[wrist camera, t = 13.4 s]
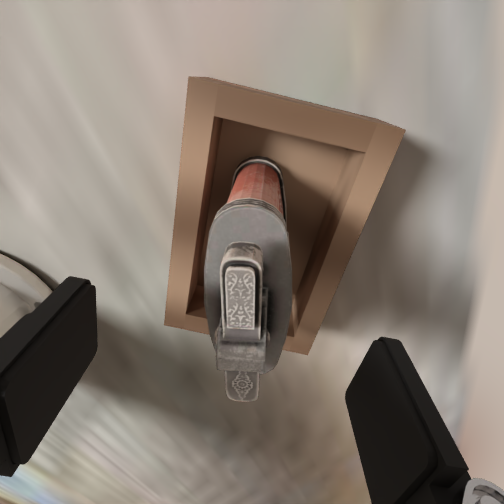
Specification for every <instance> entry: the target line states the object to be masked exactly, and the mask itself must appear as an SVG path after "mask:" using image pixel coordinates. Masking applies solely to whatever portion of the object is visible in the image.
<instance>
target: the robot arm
mask: <svg viewBox="0 0 504 504" xmlns="http://www.w3.org/2000/svg"><path fill="white" fill-rule="evenodd" d="M96 351H97V314H96V288H95V286H94V285H91V282H90V280H87V279H82V278H77V277H72V276H70V277H68V278H66V279H65V280H64V281H63V282H62V283H61V284H60V285H59V286H58V287H57V288H56V289H55V290H54V291H53V292H52V290H51V289H50V288H49V287H48V286H47V285H46V284H45V283H44V282H43V281H42V280H41V279H40V278H39V277H37V276H36V275H35V274H34V273H32V272H31V271H29V270H28V269H27V268H25V267H24V266H23V265H21V264H19V263H17V262H16V261H14V260H12V259H10V258H8V257H6V256H5V255H2V254H0V475H1V476H8V477H12V476H13V474H14V472H15V471H16V469H17V468H18V466H19V465H20V464H25V463H27V462H28V461H29V459H30V458H31V456H32V455H33V453H34V452H35V450H36V449H37V447H38V445H39V444H40V442H41V441H42V439H43V437H44V436H45V434H46V433H47V431H48V429H49V428H50V426H51V425H52V423H53V421H54V420H55V418H56V417H57V415H58V413H59V412H60V410H61V409H62V407H63V405H64V404H65V402H66V401H67V399H68V397H69V396H70V394H71V393H72V391H73V389H74V388H75V386H76V385H77V383H78V382H79V380H80V378H81V377H82V375H83V374H84V372H85V370H86V369H87V367H88V366H89V364H90V362H91V361H92V359H93V358H94V356H95V353H96ZM345 400H346V405H347V409H348V413H349V416H350V420H351V424H352V428H353V432H354V436H355V440H356V444H357V448H358V451H359V455H360V459H361V463H362V467H363V471H364V475H365V479H366V483H367V486H368V490H369V494H370V498H371V502H372V504H504V491H503V490H502V489H501V488H499V487H498V486H496V485H495V484H493V483H492V482H489V481H487V480H484V479H480V478H473V479H471V477H470V475H469V474H468V472H467V470H469V468H468V467H467V465H466V463H465V461H464V459H463V457H462V455H461V453H460V451H459V450H458V448H457V446H456V444H455V442H454V440H453V438H452V436H451V435H450V433H449V431H448V429H447V427H446V425H445V423H444V421H443V420H442V418H441V416H440V414H439V412H438V410H437V408H436V406H435V405H434V403H433V401H432V399H431V397H430V395H429V393H428V391H427V390H426V388H425V386H424V384H423V382H422V380H421V378H420V376H419V374H418V373H417V371H416V369H415V367H414V365H413V363H412V361H411V359H410V358H409V356H408V354H407V352H406V350H405V348H404V346H403V344H402V343H401V341H399V340H397V339H392V338H386V337H380V338H379V339H378V340H375V341H373V343H372V345H371V346H370V348H369V350H368V352H367V354H366V356H365V357H364V359H363V361H362V363H361V365H360V366H359V368H358V370H357V372H356V374H355V376H354V377H353V379H352V381H351V383H350V385H349V386H348V388H347V390H346V394H345Z"/></svg>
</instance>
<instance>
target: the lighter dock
mask: <svg viewBox="0 0 504 504" xmlns="http://www.w3.org/2000/svg"><path fill="white" fill-rule="evenodd" d="M405 131H406V130H405V129H402V128H399V127H397V126H394V125H392V124H389V123H386V122H384V121H381V120H379V119H375V118H371V117H367V116H363V115H359V114H355V113H351V112H347V111H343V110H339V109H335V108H331V107H327V106H322V105H318V104H314V103H310V102H306V101H302V100H298V99H294V98H290V97H286V96H282V95H278V94H274V93H270V92H266V91H262V90H258V89H254V88H250V87H245V86H241V85H237V84H233V83H229V82H225V81H221V80H217V79H213V78H209V77H189V78H188V88H187V98H186V108H185V118H184V128H183V138H182V148H181V159H180V169H179V179H178V189H177V199H176V209H175V219H174V229H173V240H172V250H171V260H170V270H169V280H168V290H167V300H166V310H165V321H164V325H166V326H171V327H176V328H180V329H185V330H190V331H195V332H200V333H204V334H209V335H210V333H209V328H208V322H207V316H206V310H205V305H204V266H205V259H206V252H207V245H208V239H209V232H210V228H211V226H212V223H213V221H214V218H215V216H216V214H217V212H218V211H219V210H220V209H221V208H222V207H223V206H224V205H225V204H227V201H228V199H229V196H230V192H231V187H232V181H233V176H234V173H235V171H236V169H237V166H238V165H239V164H240V163H241V162H242V161H243V160H245V159H247V158H249V157H252V156H264V157H268V158H270V159H272V160H274V161H275V162H276V163H277V164H278V165H279V166H280V169H281V171H282V175H283V182H284V189H285V197H286V212H287V232H288V233H289V245H290V256H291V265H292V310H291V315H290V321H289V326H288V332H287V337H286V340H285V343H284V346H283V349H282V350H286V351H291V352H296V353H300V354H305V355H308V353H309V351H310V349H311V346H312V344H313V342H314V340H315V337H316V335H317V333H318V330H319V328H320V326H321V323H322V321H323V319H324V317H325V314H326V312H327V310H328V307H329V305H330V303H331V301H332V298H333V296H334V294H335V291H336V289H337V287H338V284H339V282H340V280H341V278H342V275H343V273H344V271H345V268H346V266H347V264H348V262H349V259H350V257H351V255H352V252H353V250H354V248H355V245H356V243H357V241H358V239H359V236H360V234H361V232H362V229H363V227H364V225H365V223H366V220H367V218H368V216H369V213H370V211H371V209H372V206H373V204H374V202H375V200H376V197H377V195H378V193H379V190H380V188H381V186H382V184H383V181H384V179H385V177H386V174H387V172H388V170H389V167H390V165H391V163H392V161H393V158H394V156H395V154H396V151H397V149H398V147H399V145H400V142H401V140H402V138H403V135H404V133H405Z"/></svg>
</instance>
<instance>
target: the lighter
mask: <svg viewBox="0 0 504 504" xmlns="http://www.w3.org/2000/svg"><path fill="white" fill-rule="evenodd" d="M204 305H205V310H206V316H207V322H208V328H209V333H210V337H211V340H212V343H213V346H214V349H215V352H216V365H217V370H225V385H226V394H227V396H228V398H229V399H231V400H234V401H240V402H251V401H254V400H256V399H257V398H258V394H259V378H260V375H261V374H264V373H267V372H269V371H271V370H272V369H274V367H275V366H276V365H277V363H278V360H279V357H280V355H281V352H282V349H283V346H284V343H285V340H286V337H287V332H288V326H289V321H290V315H291V310H292V265H291V256H290V245H289V233H288V232H287V212H286V197H285V189H284V182H283V175H282V171H281V169H280V166H279V165H278V164H277V163H276V162H275V161H274V160H272V159H270V158H268V157H264V156H252V157H249V158H247V159H245V160H243V161H242V162H241V163H240V164H239V165H238V166H237V169H236V171H235V173H234V176H233V181H232V187H231V192H230V196H229V199H228V201H227V204H225V205H224V206H223V207H222V208H221V209H220V210H219V211H218V212H217V214H216V216H215V218H214V221H213V223H212V226H211V228H210V232H209V239H208V245H207V252H206V259H205V266H204Z"/></svg>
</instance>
